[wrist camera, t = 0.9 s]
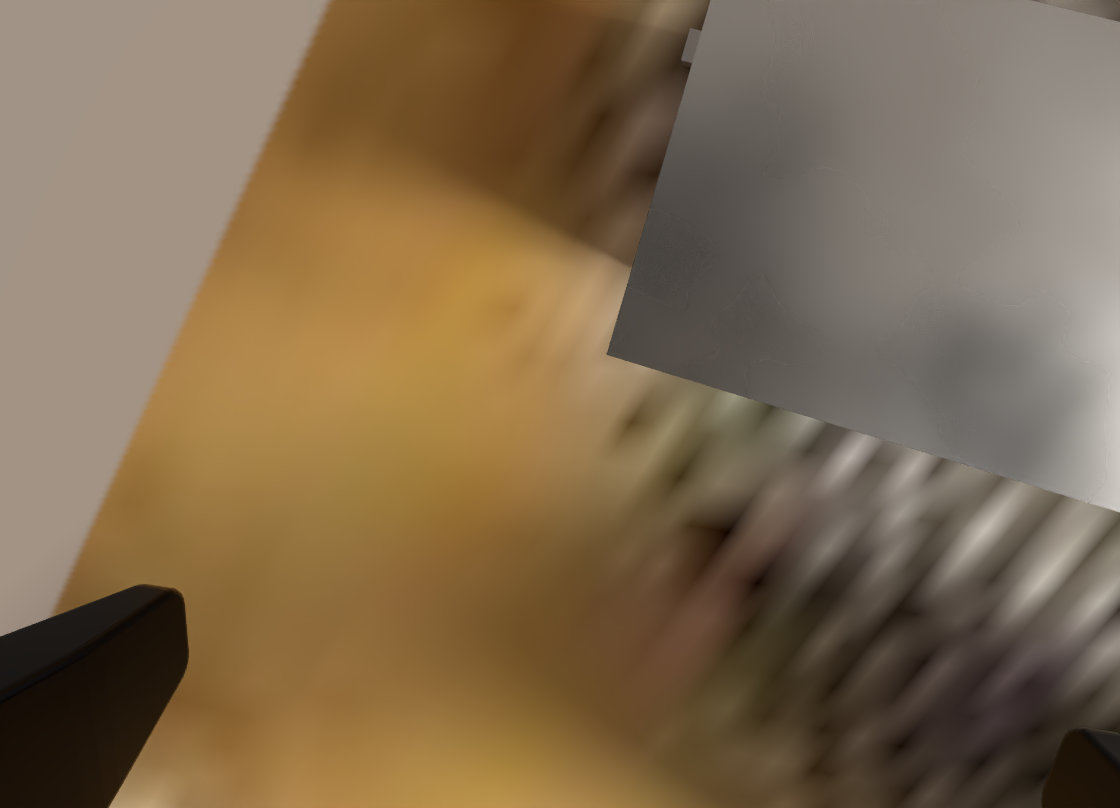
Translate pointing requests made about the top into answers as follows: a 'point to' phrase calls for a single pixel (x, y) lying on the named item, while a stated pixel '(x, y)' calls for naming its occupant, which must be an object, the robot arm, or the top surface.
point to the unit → (898, 228)
